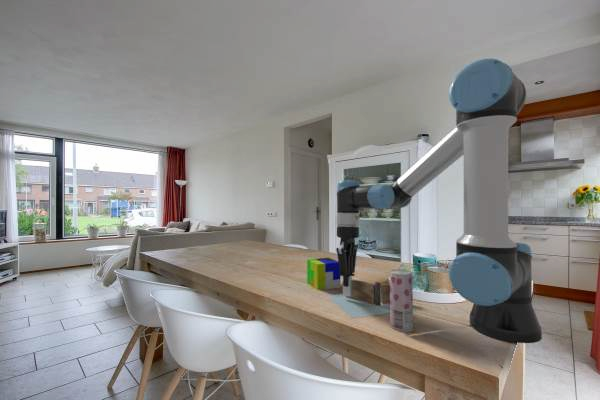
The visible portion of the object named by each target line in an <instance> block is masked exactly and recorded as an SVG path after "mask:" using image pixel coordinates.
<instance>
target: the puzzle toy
mask: <svg viewBox="0 0 600 400" xmlns="http://www.w3.org/2000/svg"><path fill="white" fill-rule="evenodd" d="M306 261H307V262H306V264H307V265H306V266H307V268H306V270H307V271H306V274H307V275H306V276H307V277H306V278H307V279H306V283H307V285H309V286H311V287H312V288H313V289H315V290H316V291H322V290H330V289H332V290H333V289H338V288H341V286H342V285H341V276H340V272H339V263H338V260H336V259H333V258H331V257H322V258H311V259H307V260H306Z"/></svg>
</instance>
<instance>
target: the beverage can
mask: <svg viewBox="0 0 600 400" xmlns="http://www.w3.org/2000/svg"><path fill="white" fill-rule="evenodd" d="M389 283H390V313H389V326H390V328H391V329H393V330H394V331H397V332H403V333H406V332H407V333H408V332H412V331H413V330H414V314H413V313H414V310H413V307H414V306H413V305H414V304H413V303H414V300H413V299H414V298H413V275H412V271H410V270H406V269H398V268H397V269H391V270H390V273H389Z"/></svg>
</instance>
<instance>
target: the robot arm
mask: <svg viewBox="0 0 600 400" xmlns="http://www.w3.org/2000/svg"><path fill="white" fill-rule="evenodd" d="M448 98H449V101H450V102H449V103H450V104H451V105H452V107H453V108H454V109H455V112H456V113H455V117H456V118H455V121H456V125H455V126H454V127H453V128H452V129H451V130H449V132H447V133H446V134H445V135H444V136H443V137H442V138H441V139H440V140H439V141H437V143H436V144H435V145H433V147H431V148H430V149H429V150H428V151H427V152H426V153H425V154H424V155H423V156H422V157H421V158H419V159H418V160H417V161H416V162H415V163H414V164H413V165H411V166H410V167H409V168H408V169H407V170H406V171H405V172H404V173H403V174H402V175H401V176H400V177H398V178H397V180H396V181H394V182H393V183H392V184H391V185H389V184H385V183H381V184H379V183H377V184H376V183H375V184H370V185H360V182H359V181H358V180H355V179H353V180H352V179H351V180H348V179H347V180H346V179H345V180H340V181H338V182H337V186H336V187H337V188H336V225H338V226H337V227H336V237H337V238H340V241H339V247H336V249H335V251H336V254H337V261H338V263H339V272H340V277H342V294H343V295H344V296H349V297H350V296H352V279H353V277H355V275H356V274H355V271H356V264H357V261H356V260H357V253H358V248H359V245H358V244H356V241H355V240H356V239H357V238H359V237H360V227H359V226H358V225H360V219H361V216H360V209H366V210H367V209H368V210H369V209H374V210H384V209H402V208H405V207H407V206H409V205H410V203H411V202H412V199H413V197H414V196H415V195H416V194H417V193H419V192H420V191H421V190H422V189H424V188H425V187H426V186H427V185H429V184H430V183H431V182H432V181H434V180H435V179H436V178H437V177H439V176H440V175H441V174H442V173H443V172H445V170H447V169H448V168H449V167H451V166H452V165H453V164H454V163H455V162H457V161H458V160H459V159H460V158H461V157H463V233H462V235H461V236H460V237H459V238H457V239H456V242H455V244H456V245H455V247H456V249H455V251H456V253H455V256H456V257H455V258H454V259H452V261H451V263H450V266H449V268H448V277H449V281H450V283H451V285H452V287H453V289H454V291H456V292H457V293H458V294H459V296H460V297H462V298H463V299H464V300H465V301H468V302H470V303H472V304H473V305H472V308H471V311H470V312H469V325H470V326H471V327H472V328H473V329H474V330H475V331H477V332H479V333H481V334H483V335H485V336H488V337H491V338H495V339H497V340H501V341H505V342H510V343H517V344H534V343H537V342H538V343H539V342H541V340H542V339H543V337H542V336H543V334H542V333H543V332H542V326H541V324H540V323H539V319H538V317H537V314H536V310H535V309H534V307H533V295H532V293H533V291H532V290H533V289H532V287H533V286H532V283H533V282H532V258H533V255H532V251H531V246H530V245H529V244H526V243H524V242H523V243H522V242H515V241H514V240H513V239H511V238H510V236H509V130H510V128H511V127H512V126H513V125H514V124H515V123H517V120H518V115H519V113H520V112H521V111H522V110H523V107H524V105H525V103H526V101H527V99H526V98H527V89H526V87H525V84H524V83H523V81H522V80H521V79H520V78H518V76H517V75H516V74H515V73H514V72H513V69H512V68H511V66H510V65H508V64H507V63H505V62H503V61H501V60H499V59H496V58H483V59H479V60H475V61H473V62H471V63H470V64H468V65H466V66H465V67H464V68H462V69H461V70H460V71H459V73H457V75H456V76H455V77H454V78H453V80H452V82H451V84H450V86H449V90H448Z"/></svg>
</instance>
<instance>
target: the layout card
mask: <svg viewBox="0 0 600 400" xmlns="http://www.w3.org/2000/svg"><path fill="white" fill-rule="evenodd" d="M327 297H328V298H329V299H330V300H331V301H333V303H334V304H336V305H337V306H338V307H339V308H340V309H341V310H343V311H344V312H345V313H346V314H347V315H348V316H350V318H352V319H355V318H362V317H369V316H370V317H371V316H378V315H385V314H390V303H387V304H382V303H381V305H380V306H377V305H375V303H370V302H366V301H363V300H359V299H355V298H351V297H347V296H344V295H343V293H339V294H330V295H327ZM417 310H418V308H417V307H414V306H413V311H417Z"/></svg>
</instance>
